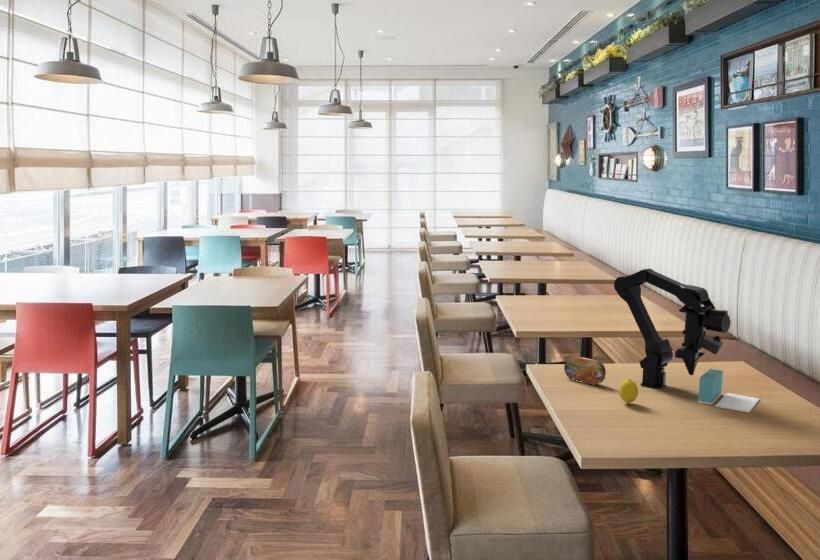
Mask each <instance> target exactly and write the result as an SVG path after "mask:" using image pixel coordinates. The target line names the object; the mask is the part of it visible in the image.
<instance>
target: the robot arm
mask: <svg viewBox="0 0 820 560" xmlns="http://www.w3.org/2000/svg"><path fill="white" fill-rule="evenodd" d="M645 283H647V284H649V285H651V286H654V287H655V288H658V289H660V290H662V291H664V292H667V293H669V294H671V295H673V296H675V298H677V299H678V300H679V302H681V303H682V304H683V306H682V307H681V308H680V309H678V312H680V313H685V316H684V329H683V330H682V332H681V333H682V334H683V342H682V343H681V346H680V347H679V348H677V349H676V350H675V351H674V349H673V347H672V345H671V344H670V341H669V339H668V338H665V339H663V338H661V336H660V335H659V332H658V331H657V329H656V326H655V325H654V323H653V320H652V319H651V316H650V314H649V312H648V310H647V307H646V305H645V304H644V302H643V300H642V288H641V286H642V285H644V284H645ZM613 289H614V290H615V292H616V293H617V295H618V296H619V297H620V298H621V299H622V300H623V301H624V302H625V303H626V304H627V306H628V308H629V310H630V313H631V314H632V317H633V319H634V321H635V323H636V325H637V328H638V330H639V331H640V334H641V336H642V338H643V340H644V353H645V357H644V358H643V359H641V360H640V361H639V366H640V368H641V369H642V381H641V383H640V386H643V387H648V388H654V389H661V388H663V387H664V386H665V385H666V382H667V381H666V377H667V372H665V367H667V366H668V364H669V363H670V362H671V361H672V360H673V357H674V358H676V359H681V360H682V361H683V363H684V366H685V367H686V370H687V373H688V375H690V376H694V374H695V371H696V367H697V365H698V362H699V359H701V357H703V356H705V354H706V353H705V352H701V350H702V349H704V350H706V351H708V352H710V353H711V354H713V355H717V354H718V353H720V351H721V349H722V347H723V345H724V342H723V341H722V337H721V336H719V335H715V336H713V337H712V336H709V335H707V331H713V332H717V333H718V332H719V333H723V334H726V333H727V332H729V329H730V327H731V323H732V321H731V317H730V315H729V314H728V310H726V309H722V310H721V309H716V307H715V306H714V304H713V302H712V301H711V298H710V296H709V295H710V294H709V293H708V290H707V289H706V288H704V287H700V286H696V285H691V284H684V283H682V282H679V281H677V280H675V279H673V278H671V277H668V276H666V275H663V274H662V273H660V272H657V271H655V270H653V269H652V268H642V269H640V270H639V271H637V272H634V273H632V274H628V275H622V276H619V277H617V278H615V280H614V282H613ZM706 330H707V331H706Z"/></svg>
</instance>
